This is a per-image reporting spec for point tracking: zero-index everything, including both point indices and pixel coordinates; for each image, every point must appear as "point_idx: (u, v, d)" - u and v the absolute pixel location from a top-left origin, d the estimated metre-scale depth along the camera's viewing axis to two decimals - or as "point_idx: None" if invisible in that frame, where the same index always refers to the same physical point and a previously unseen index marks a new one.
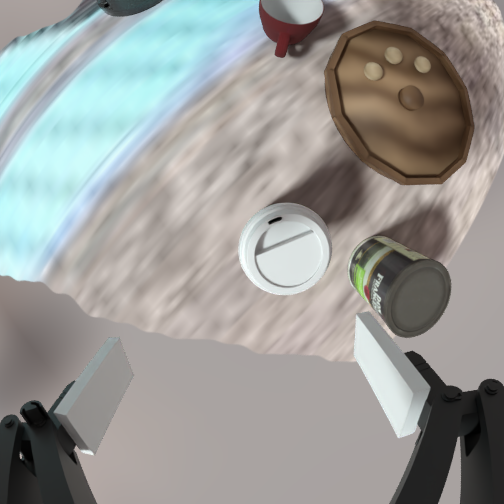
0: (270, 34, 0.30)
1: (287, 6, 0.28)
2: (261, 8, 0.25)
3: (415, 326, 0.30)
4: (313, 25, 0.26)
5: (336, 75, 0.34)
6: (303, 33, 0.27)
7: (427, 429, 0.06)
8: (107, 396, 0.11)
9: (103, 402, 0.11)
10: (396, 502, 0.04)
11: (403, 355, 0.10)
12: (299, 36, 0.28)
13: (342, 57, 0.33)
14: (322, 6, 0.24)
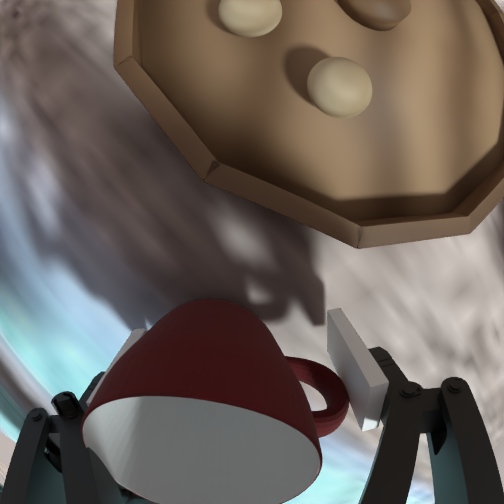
0: None
1: None
2: None
3: None
4: (294, 399, 0.07)
5: (354, 204, 0.14)
6: (302, 388, 0.09)
7: (387, 425, 0.07)
8: None
9: None
10: (363, 499, 0.04)
11: (366, 350, 0.11)
12: None
13: (287, 177, 0.13)
14: None
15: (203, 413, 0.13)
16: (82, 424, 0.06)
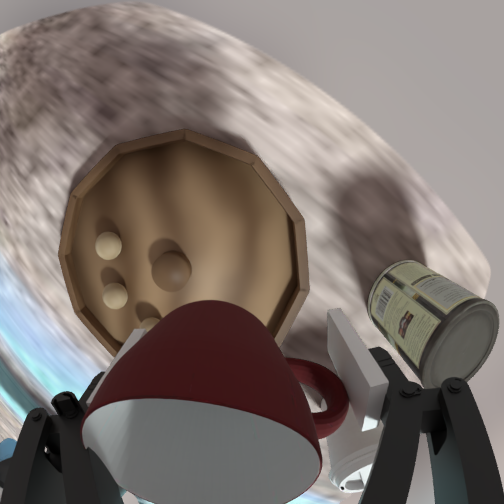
0: None
1: None
2: None
3: (487, 342, 0.19)
4: (294, 401, 0.07)
5: None
6: (302, 390, 0.09)
7: (387, 426, 0.07)
8: None
9: None
10: (363, 499, 0.04)
11: (366, 350, 0.11)
12: None
13: None
14: (175, 391, 0.06)
15: (203, 414, 0.13)
16: (81, 426, 0.06)
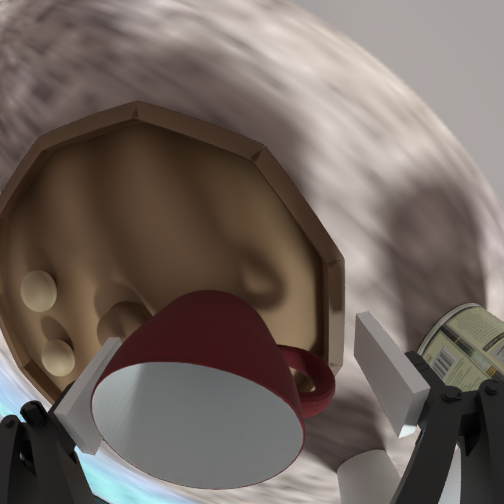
0: None
1: None
2: (231, 482, 0.10)
3: None
4: (279, 372, 0.09)
5: None
6: (288, 367, 0.11)
7: (427, 429, 0.06)
8: None
9: None
10: (396, 502, 0.04)
11: (403, 355, 0.10)
12: None
13: None
14: None
15: (201, 397, 0.15)
16: (92, 394, 0.08)
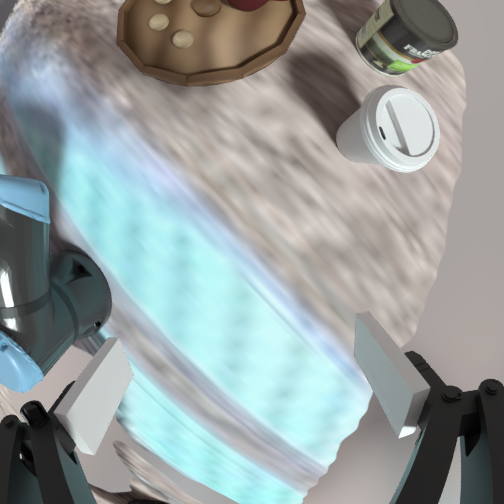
0: None
1: None
2: None
3: (447, 23, 0.19)
4: None
5: (191, 74, 0.33)
6: None
7: (427, 429, 0.06)
8: (107, 396, 0.11)
9: (103, 402, 0.11)
10: (396, 502, 0.04)
11: (403, 355, 0.10)
12: None
13: (168, 69, 0.33)
14: None
15: None
16: None
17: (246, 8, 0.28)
